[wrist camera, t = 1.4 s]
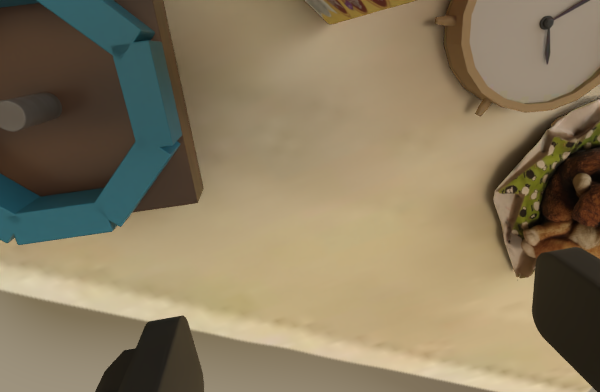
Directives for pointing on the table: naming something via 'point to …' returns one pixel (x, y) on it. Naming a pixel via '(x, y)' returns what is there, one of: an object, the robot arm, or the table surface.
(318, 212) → the table surface
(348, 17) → the candy box
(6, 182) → the ring
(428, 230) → the table surface
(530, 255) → the animal figurine statue
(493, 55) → the alarm clock
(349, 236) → the table surface
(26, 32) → the platform
